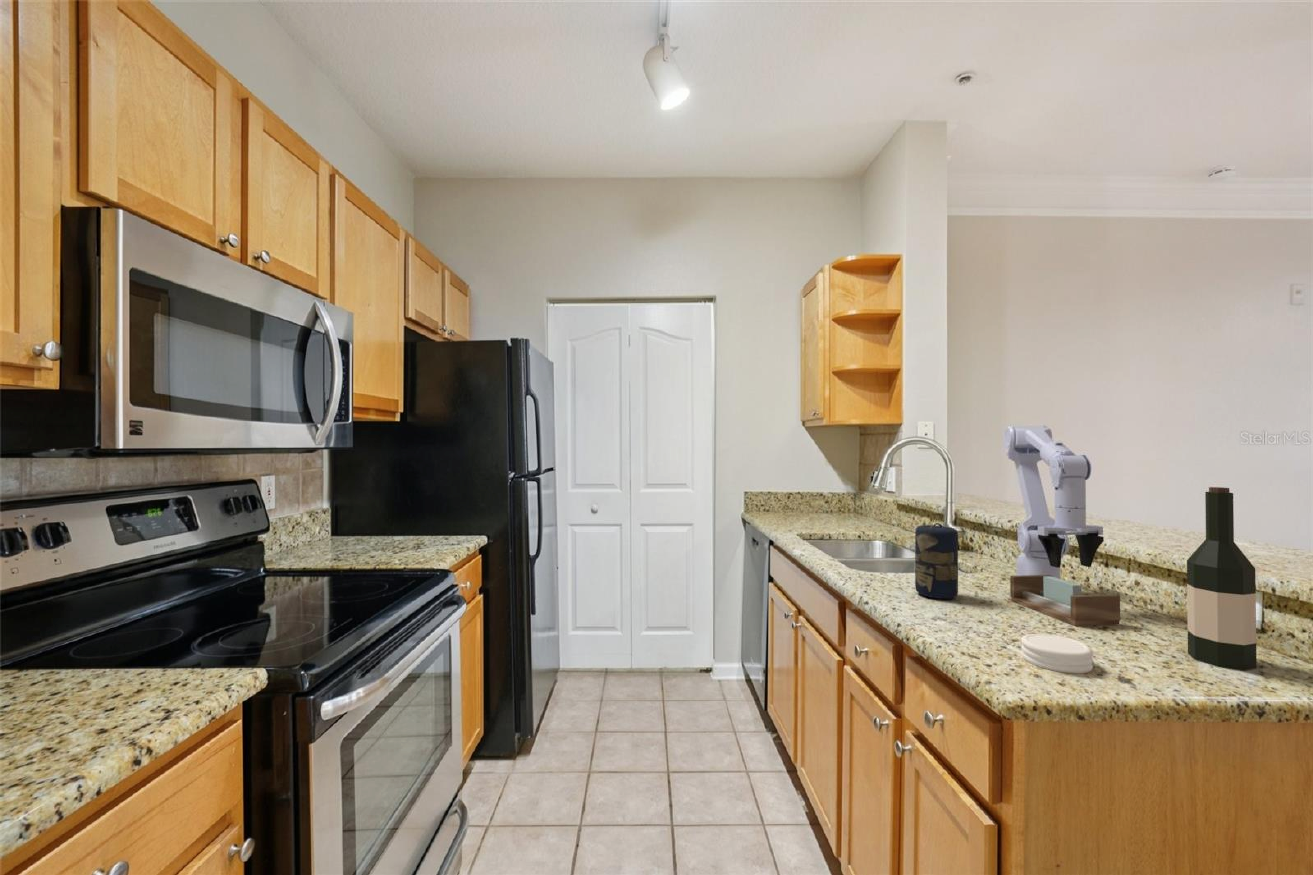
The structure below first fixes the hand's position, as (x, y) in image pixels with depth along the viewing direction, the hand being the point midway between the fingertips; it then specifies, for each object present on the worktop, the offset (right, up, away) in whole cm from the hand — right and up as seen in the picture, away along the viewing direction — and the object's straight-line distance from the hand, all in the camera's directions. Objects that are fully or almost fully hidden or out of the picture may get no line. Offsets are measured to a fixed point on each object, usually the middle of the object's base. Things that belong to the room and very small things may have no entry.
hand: (1070, 566), depth 126 cm
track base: (-5, -9, -4) cm, 11 cm away
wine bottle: (+3, -9, -31) cm, 32 cm away
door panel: (-5, -8, -4) cm, 10 cm away
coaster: (-26, -10, -32) cm, 42 cm away
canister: (-26, -10, +10) cm, 29 cm away
